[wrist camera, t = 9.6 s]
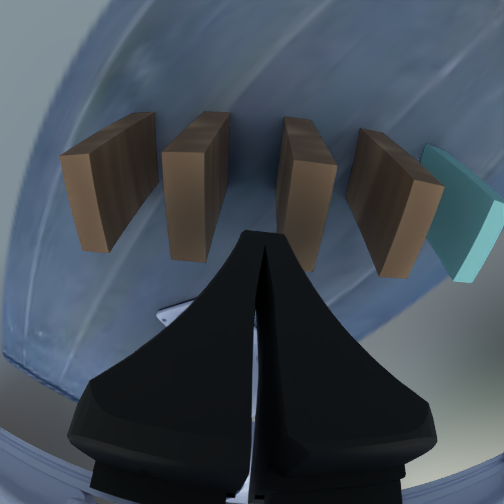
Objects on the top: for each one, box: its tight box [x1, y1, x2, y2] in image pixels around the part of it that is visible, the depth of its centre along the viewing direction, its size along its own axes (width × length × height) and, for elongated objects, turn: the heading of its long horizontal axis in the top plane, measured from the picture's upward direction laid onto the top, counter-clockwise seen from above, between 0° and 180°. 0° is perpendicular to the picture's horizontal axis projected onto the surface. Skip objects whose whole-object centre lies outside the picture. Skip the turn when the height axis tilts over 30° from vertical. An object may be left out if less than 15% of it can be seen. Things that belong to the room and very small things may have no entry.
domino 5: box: [420, 144, 504, 283], centre depth 15 cm, size 2×5×8 cm, turn 174°
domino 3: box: [276, 117, 337, 272], centre depth 15 cm, size 2×5×8 cm, turn 176°
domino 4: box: [346, 128, 445, 279], centre depth 15 cm, size 2×5×8 cm, turn 176°
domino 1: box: [60, 112, 159, 253], centre depth 15 cm, size 2×5×8 cm, turn 176°
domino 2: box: [162, 112, 231, 263], centre depth 15 cm, size 2×5×8 cm, turn 176°
